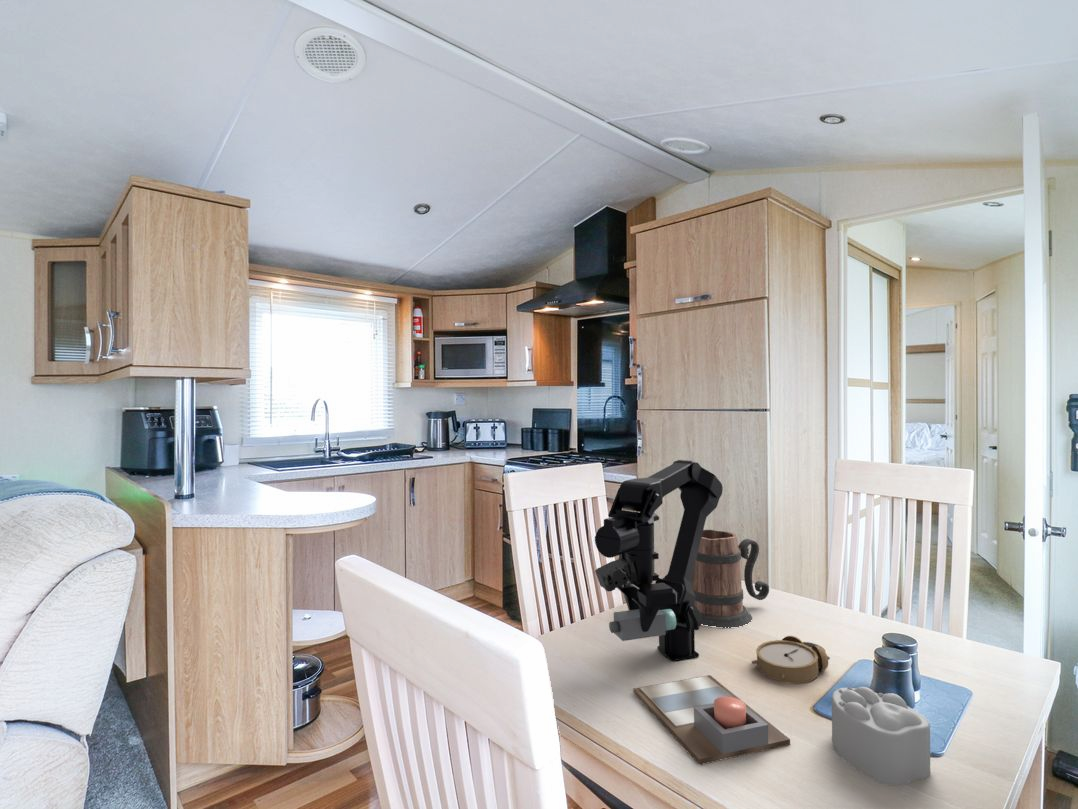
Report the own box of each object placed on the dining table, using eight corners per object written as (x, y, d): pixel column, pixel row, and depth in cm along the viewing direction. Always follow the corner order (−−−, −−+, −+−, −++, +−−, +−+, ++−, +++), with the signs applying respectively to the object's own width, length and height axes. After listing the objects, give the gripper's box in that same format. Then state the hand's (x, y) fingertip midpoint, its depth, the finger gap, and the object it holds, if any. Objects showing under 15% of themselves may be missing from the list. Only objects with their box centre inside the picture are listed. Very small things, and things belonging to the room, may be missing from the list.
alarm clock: (742, 651, 118) (792, 623, 125) (746, 674, 119) (795, 645, 125) (790, 674, 108) (841, 643, 115) (793, 699, 109) (844, 666, 115)
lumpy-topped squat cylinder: (886, 790, 81) (885, 727, 81) (813, 738, 93) (813, 684, 93) (941, 773, 84) (941, 713, 84) (864, 725, 96) (864, 673, 96)
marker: (666, 625, 117) (666, 605, 117) (676, 633, 114) (676, 612, 114) (607, 633, 114) (606, 613, 114) (615, 642, 110) (615, 620, 110)
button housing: (736, 716, 98) (736, 699, 98) (768, 744, 90) (768, 724, 90) (694, 725, 96) (693, 707, 96) (723, 754, 88) (722, 734, 88)
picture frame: (710, 679, 113) (709, 673, 112) (790, 744, 91) (790, 737, 91) (633, 692, 108) (633, 687, 108) (699, 764, 87) (699, 757, 87)
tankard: (706, 632, 134) (705, 545, 134) (667, 607, 150) (666, 529, 150) (790, 618, 142) (789, 536, 141) (745, 596, 158) (744, 521, 157)
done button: (733, 712, 96) (733, 694, 96) (752, 728, 91) (752, 709, 91) (708, 717, 95) (707, 699, 94) (725, 734, 90) (725, 714, 90)
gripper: (582, 539, 120) (583, 615, 120) (621, 563, 102) (622, 653, 102) (632, 534, 123) (633, 608, 123) (678, 557, 105) (679, 644, 106)
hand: (640, 627), depth 114 cm, fingers closed on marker, 4 cm apart
